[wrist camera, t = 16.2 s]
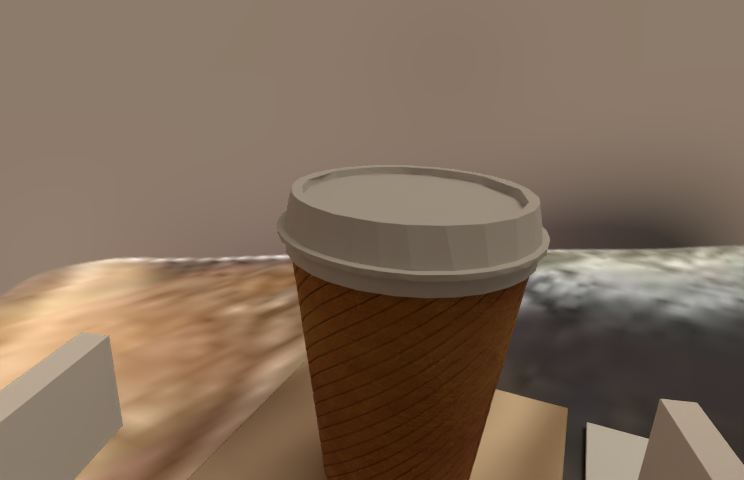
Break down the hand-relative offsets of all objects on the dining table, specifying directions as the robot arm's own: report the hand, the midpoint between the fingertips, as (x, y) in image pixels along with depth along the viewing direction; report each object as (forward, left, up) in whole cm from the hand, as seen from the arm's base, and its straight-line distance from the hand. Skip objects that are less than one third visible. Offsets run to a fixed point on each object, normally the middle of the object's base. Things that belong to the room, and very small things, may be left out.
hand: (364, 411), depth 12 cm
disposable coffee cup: (+1, -7, -8) cm, 11 cm away
